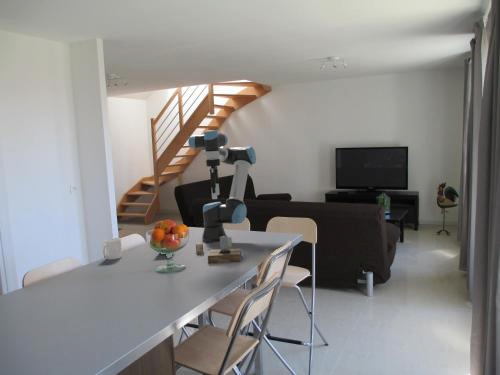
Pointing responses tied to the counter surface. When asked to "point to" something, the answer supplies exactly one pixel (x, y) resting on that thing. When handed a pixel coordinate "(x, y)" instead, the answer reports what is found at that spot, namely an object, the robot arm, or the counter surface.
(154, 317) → the counter surface
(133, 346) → the counter surface
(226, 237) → the long pin
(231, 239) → the medium pin
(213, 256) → the hole board
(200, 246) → the short pin
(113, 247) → the cup
